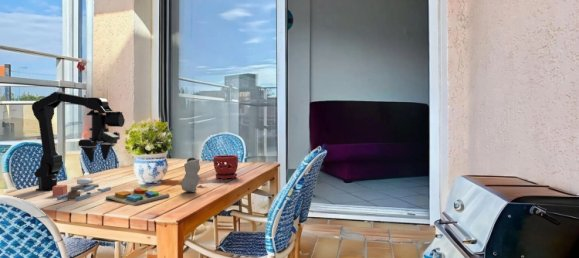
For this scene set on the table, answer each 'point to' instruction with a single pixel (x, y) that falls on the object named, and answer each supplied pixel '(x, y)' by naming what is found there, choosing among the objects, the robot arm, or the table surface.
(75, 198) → the lane
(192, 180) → the figurine
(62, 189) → the die
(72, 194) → the pawn
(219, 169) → the plant pot
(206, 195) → the table surface
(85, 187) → the dome base
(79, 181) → the dome
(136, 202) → the shape sorting puzzle
